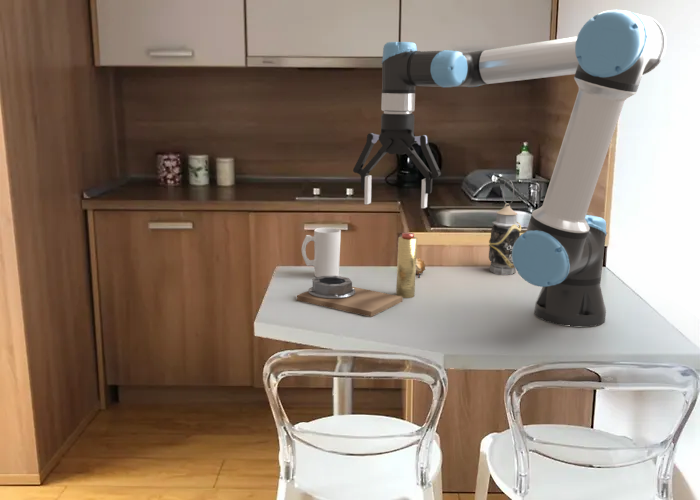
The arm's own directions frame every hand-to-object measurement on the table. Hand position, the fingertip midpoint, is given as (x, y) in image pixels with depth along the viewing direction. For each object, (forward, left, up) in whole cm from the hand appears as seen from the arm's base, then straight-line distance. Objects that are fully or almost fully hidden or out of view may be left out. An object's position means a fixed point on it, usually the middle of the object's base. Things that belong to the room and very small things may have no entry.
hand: (395, 205), depth 179 cm
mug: (+23, -4, -22) cm, 32 cm away
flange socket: (+10, +10, -20) cm, 25 cm away
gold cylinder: (-3, -2, -22) cm, 22 cm away
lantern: (-13, -38, -22) cm, 45 cm away
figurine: (+4, -20, -22) cm, 30 cm away
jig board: (+5, +10, -22) cm, 24 cm away
